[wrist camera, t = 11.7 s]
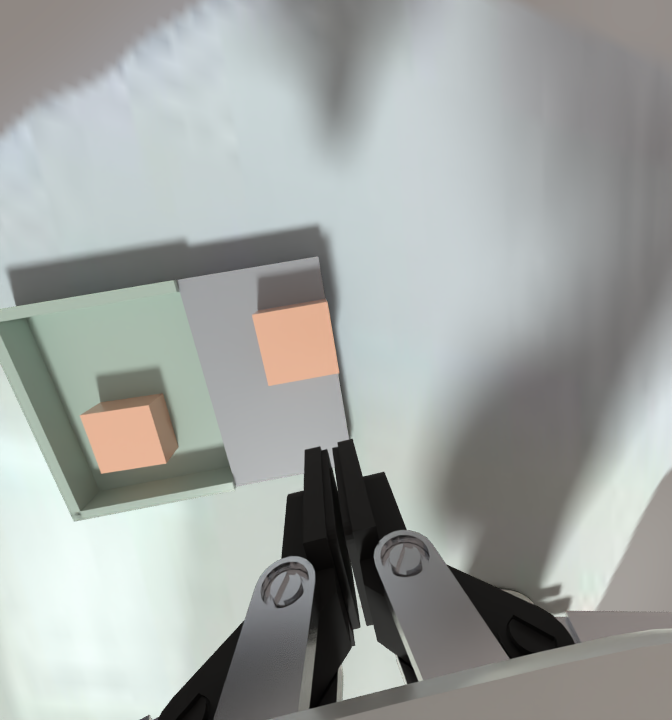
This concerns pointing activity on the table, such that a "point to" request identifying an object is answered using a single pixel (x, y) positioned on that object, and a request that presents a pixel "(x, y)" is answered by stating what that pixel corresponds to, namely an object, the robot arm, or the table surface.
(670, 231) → the table surface
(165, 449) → the tile far
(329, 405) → the deck
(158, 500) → the tray
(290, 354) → the tile near
